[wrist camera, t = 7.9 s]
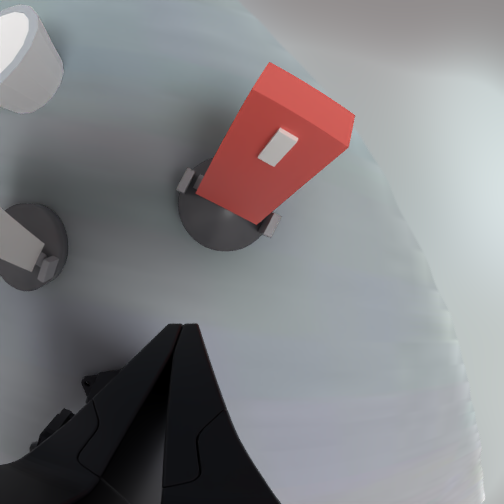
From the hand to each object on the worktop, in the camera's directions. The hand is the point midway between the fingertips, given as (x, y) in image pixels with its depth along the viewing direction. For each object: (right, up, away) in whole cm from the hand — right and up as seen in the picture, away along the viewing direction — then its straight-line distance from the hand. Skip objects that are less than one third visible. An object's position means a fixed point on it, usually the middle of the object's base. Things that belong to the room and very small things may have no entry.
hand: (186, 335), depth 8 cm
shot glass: (-15, +16, +9) cm, 24 cm away
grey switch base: (-14, +3, +10) cm, 18 cm away
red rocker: (0, +5, +11) cm, 12 cm away
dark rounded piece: (0, +6, +13) cm, 14 cm away
